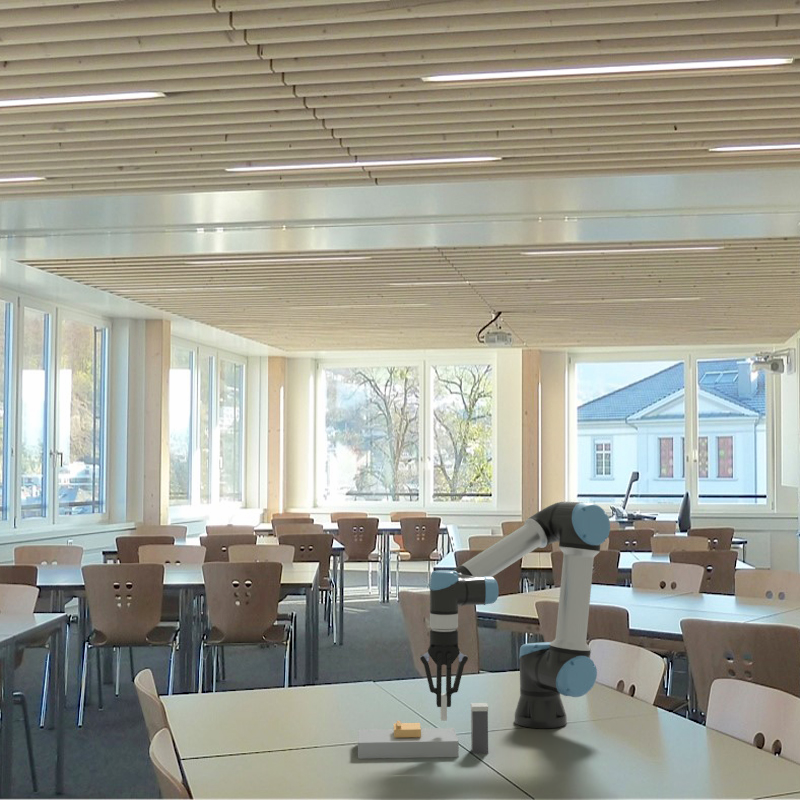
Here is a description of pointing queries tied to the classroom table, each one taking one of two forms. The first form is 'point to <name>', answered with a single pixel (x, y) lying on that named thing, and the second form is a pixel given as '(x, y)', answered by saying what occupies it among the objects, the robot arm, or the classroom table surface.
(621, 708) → the classroom table surface
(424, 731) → the socket board
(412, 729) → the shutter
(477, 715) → the plug
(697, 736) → the classroom table surface
